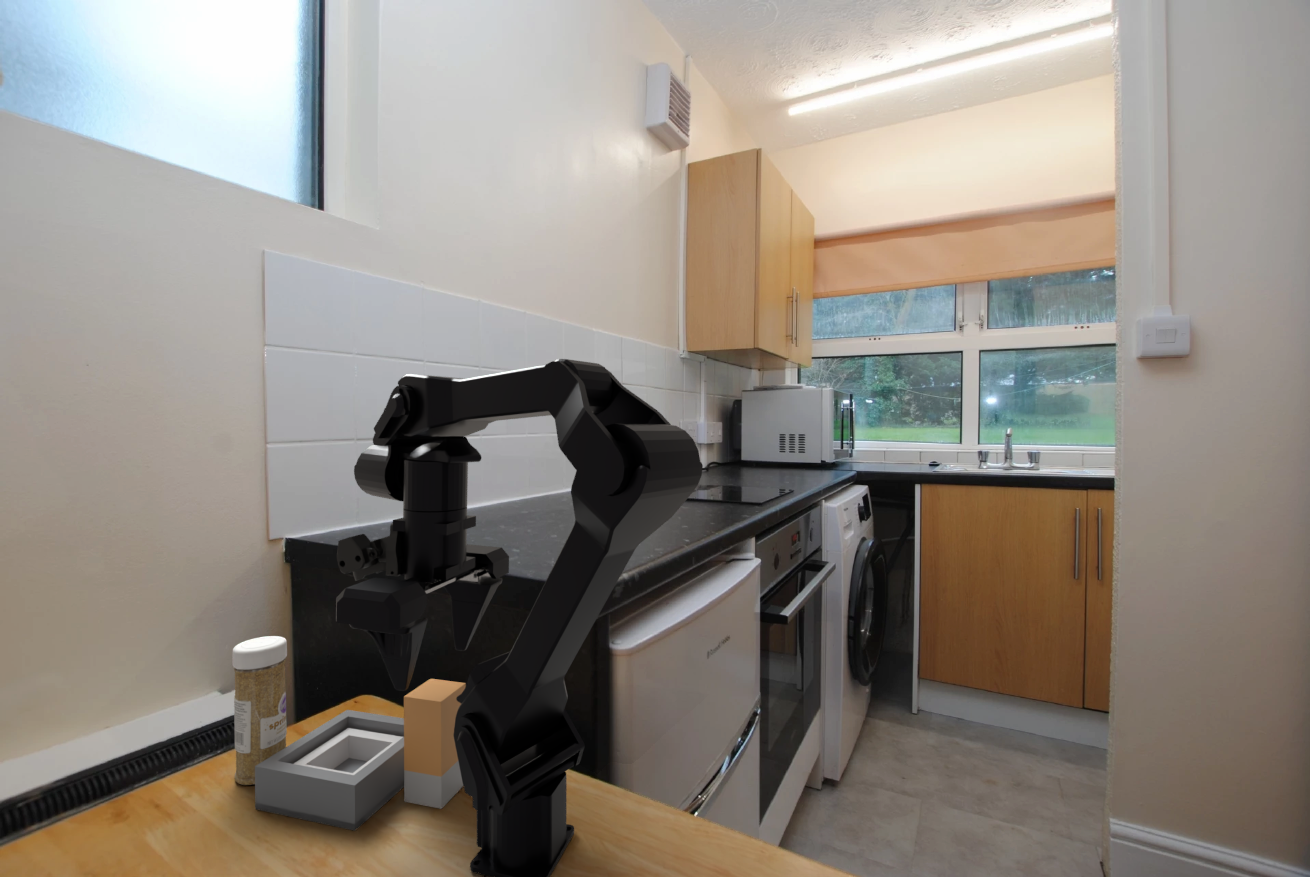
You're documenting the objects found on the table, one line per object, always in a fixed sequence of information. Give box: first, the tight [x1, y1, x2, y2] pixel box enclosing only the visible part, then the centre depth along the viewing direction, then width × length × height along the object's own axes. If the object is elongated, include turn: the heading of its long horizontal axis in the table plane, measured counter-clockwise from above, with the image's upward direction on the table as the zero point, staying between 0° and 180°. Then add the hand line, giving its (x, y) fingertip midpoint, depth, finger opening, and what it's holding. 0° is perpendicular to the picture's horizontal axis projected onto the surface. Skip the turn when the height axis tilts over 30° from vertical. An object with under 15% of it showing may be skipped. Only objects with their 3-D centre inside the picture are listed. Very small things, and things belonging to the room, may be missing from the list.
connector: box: [403, 678, 467, 810], centre depth 55 cm, size 4×4×10 cm
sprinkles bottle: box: [231, 635, 288, 786], centre depth 58 cm, size 5×5×14 cm
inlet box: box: [254, 709, 404, 832], centre depth 57 cm, size 11×11×4 cm
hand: (433, 668), depth 55 cm, fingers open, 9 cm apart
